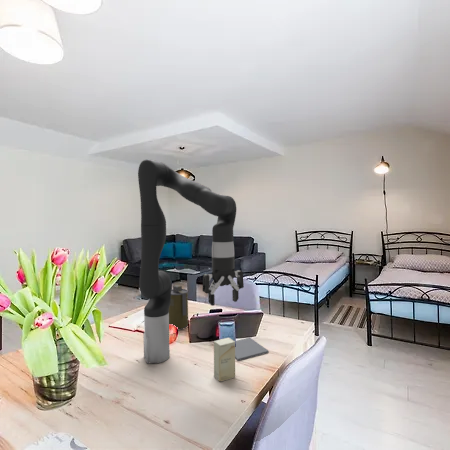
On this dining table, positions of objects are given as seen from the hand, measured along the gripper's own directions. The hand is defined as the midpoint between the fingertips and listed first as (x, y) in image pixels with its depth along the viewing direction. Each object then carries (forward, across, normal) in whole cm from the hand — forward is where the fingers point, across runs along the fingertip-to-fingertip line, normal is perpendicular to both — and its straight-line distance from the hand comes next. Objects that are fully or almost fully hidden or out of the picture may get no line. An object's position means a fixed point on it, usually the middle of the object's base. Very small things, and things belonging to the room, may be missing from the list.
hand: (223, 303), depth 97 cm
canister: (+25, 0, -51) cm, 57 cm away
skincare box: (+25, 0, 0) cm, 25 cm away
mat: (+25, -16, -14) cm, 33 cm away
